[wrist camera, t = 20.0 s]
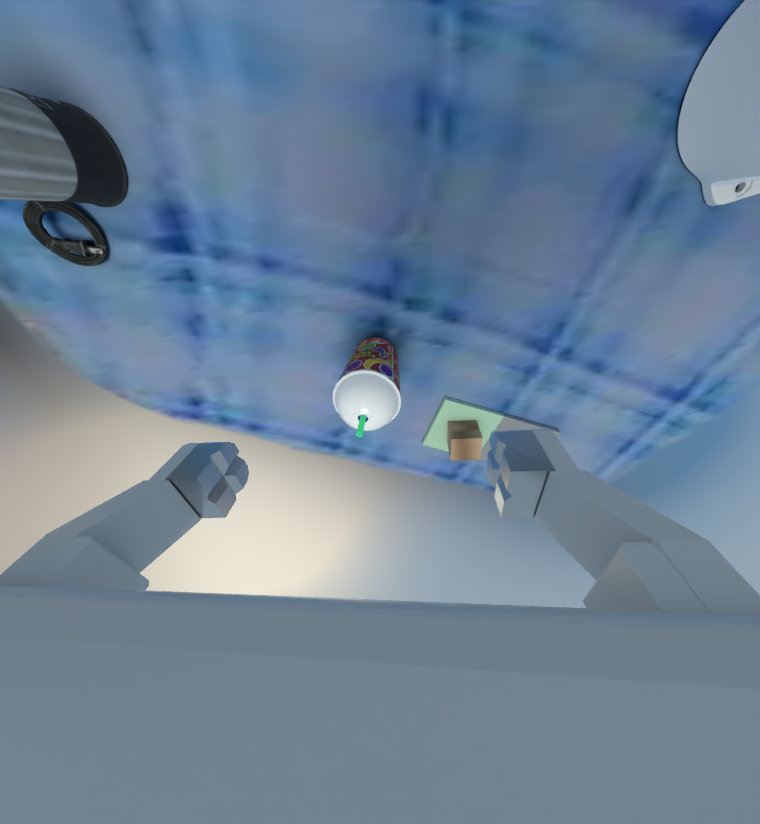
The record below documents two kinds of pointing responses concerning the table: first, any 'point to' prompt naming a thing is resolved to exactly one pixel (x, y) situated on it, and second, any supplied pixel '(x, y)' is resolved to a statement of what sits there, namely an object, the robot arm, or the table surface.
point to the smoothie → (369, 387)
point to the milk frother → (58, 168)
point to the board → (485, 420)
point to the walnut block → (464, 440)
